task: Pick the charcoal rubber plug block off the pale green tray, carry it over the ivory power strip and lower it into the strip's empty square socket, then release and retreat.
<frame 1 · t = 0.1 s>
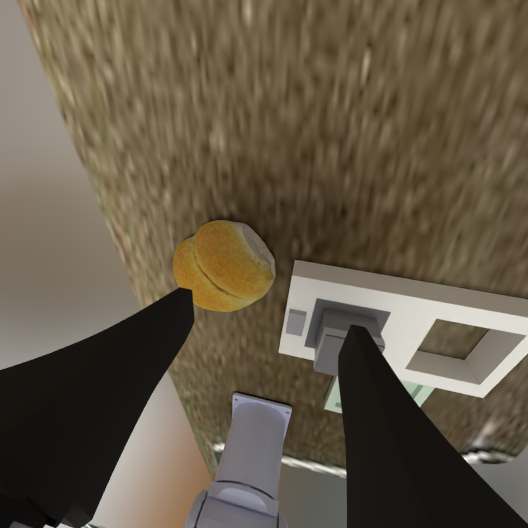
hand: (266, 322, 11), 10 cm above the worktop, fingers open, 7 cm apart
bread roll: (229, 259, 22), on the worktop
tray: (373, 388, 26), on the worktop
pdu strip: (386, 319, 22), on the worktop
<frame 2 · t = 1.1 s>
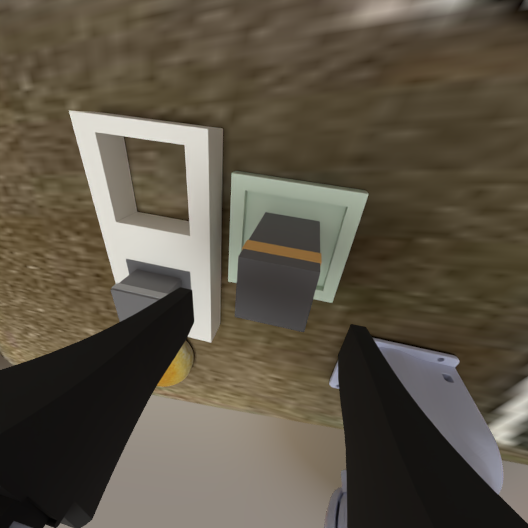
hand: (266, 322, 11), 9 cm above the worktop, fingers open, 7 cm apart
bread roll: (162, 342, 29), on the worktop
tray: (288, 239, 19), on the worktop
plug: (287, 241, 18), resting on tray
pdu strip: (172, 239, 21), on the worktop
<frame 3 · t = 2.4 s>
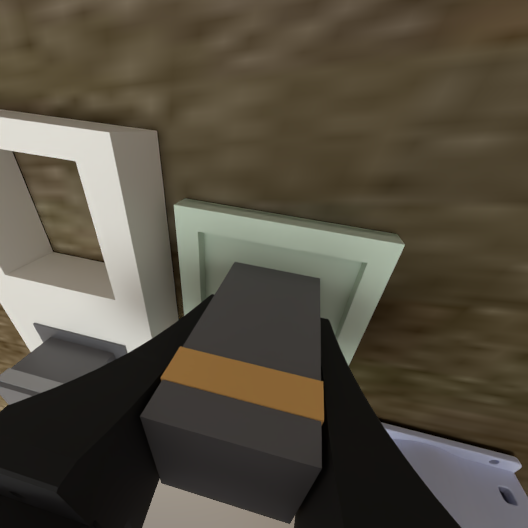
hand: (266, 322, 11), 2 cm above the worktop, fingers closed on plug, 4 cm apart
tray: (272, 298, 12), on the worktop
plug: (271, 302, 12), resting on tray, touching gripper
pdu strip: (107, 289, 14), on the worktop
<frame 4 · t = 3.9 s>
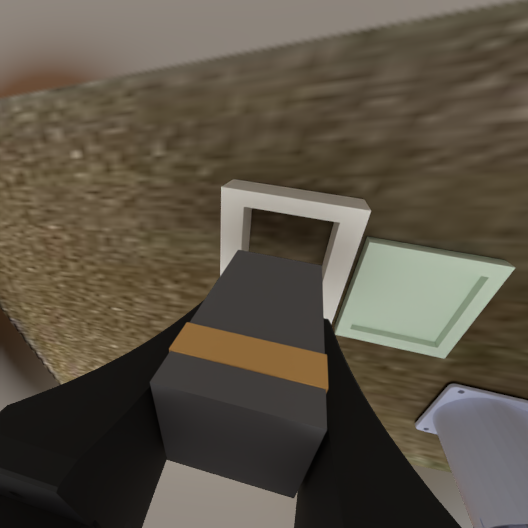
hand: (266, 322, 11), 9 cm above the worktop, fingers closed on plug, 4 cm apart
tray: (406, 298, 19), on the worktop
plug: (273, 291, 12), point 7 cm above the worktop, touching gripper
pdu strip: (278, 292, 21), on the worktop
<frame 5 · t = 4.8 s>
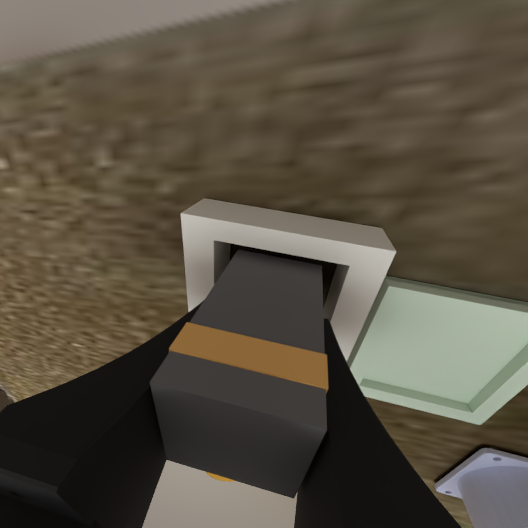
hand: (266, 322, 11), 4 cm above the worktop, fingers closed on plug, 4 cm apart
tray: (433, 350, 14), on the worktop
plug: (273, 291, 12), point 2 cm above the worktop, touching gripper
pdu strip: (268, 336, 17), on the worktop
when the fingers open (3 cm above the worktop, at t = 5.3 s): plug drops 1 cm, resting in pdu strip.
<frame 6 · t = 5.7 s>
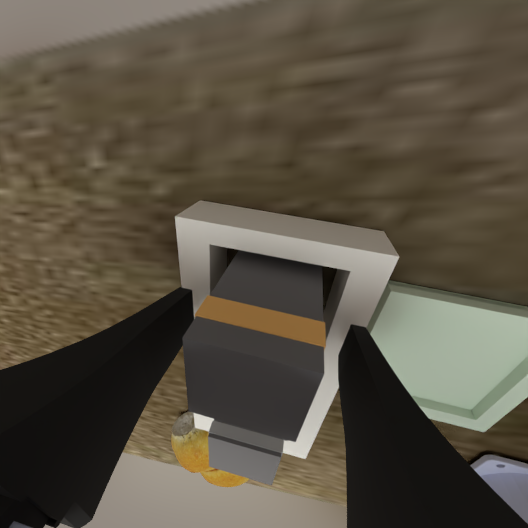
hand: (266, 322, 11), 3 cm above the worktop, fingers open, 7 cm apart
bread roll: (221, 427, 25), on the worktop
tray: (436, 356, 14), on the worktop
plug: (277, 276, 13), resting in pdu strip
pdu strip: (267, 341, 16), on the worktop
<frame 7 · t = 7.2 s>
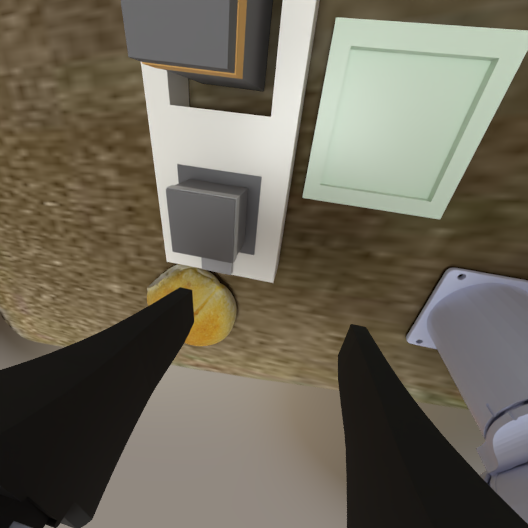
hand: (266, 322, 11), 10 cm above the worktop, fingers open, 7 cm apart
bread roll: (198, 296, 25), on the worktop
tray: (390, 131, 14), on the worktop
plug: (234, 45, 14), resting in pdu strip
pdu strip: (231, 146, 17), on the worktop
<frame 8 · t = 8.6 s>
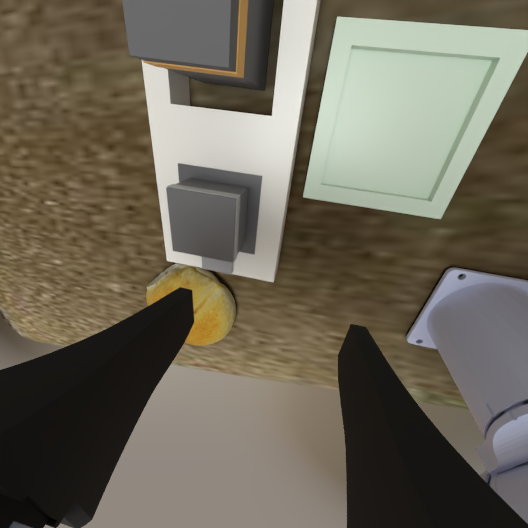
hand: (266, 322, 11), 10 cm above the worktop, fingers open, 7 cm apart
bread roll: (198, 295, 25), on the worktop
tray: (391, 131, 14), on the worktop
plug: (235, 44, 14), resting in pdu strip
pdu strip: (232, 145, 17), on the worktop
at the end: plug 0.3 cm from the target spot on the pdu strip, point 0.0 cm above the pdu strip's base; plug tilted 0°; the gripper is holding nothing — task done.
